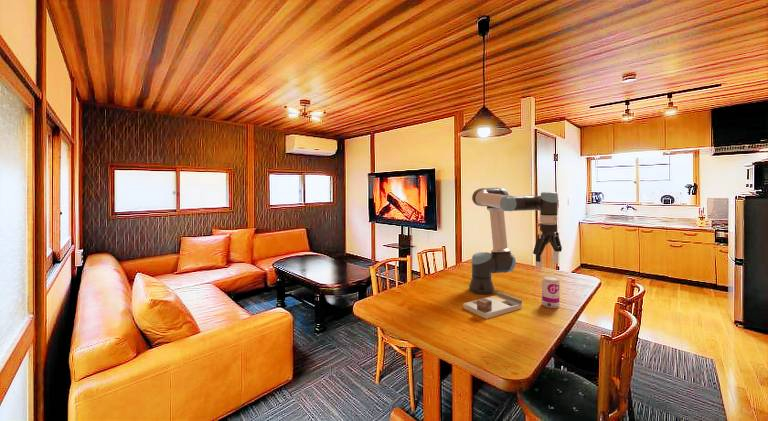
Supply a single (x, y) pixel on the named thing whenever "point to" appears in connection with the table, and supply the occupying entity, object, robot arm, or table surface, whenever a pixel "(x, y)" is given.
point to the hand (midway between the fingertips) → (547, 266)
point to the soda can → (550, 292)
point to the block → (484, 305)
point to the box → (496, 305)
